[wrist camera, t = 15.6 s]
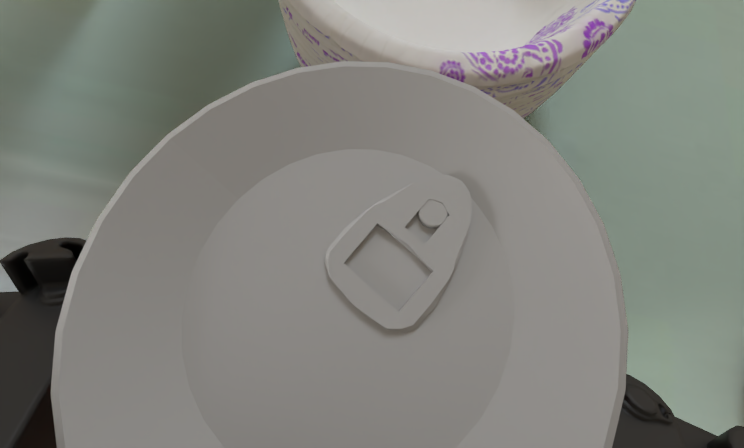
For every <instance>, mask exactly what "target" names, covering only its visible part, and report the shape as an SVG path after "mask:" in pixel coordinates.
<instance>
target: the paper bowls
mask: <svg viewBox="0 0 744 448" xmlns="http://www.w3.org/2000/svg"><path fill="white" fill-rule="evenodd" d="M635 1H636V0H279V5H280V9H281V12H282V15H283V19H284V23H285V26H286V29H287V33H288V36H289V39H290V42H291V45H292V47H293V50H294V53H295V55H296V57H297V60H298V62H299V64H300V66H301V67H306V66H313V65H320V64H327V63H334V62H341V61H357V62H390V63H395V64H400V65H405V66H410V67H416V68H421V69H426V70H431V71H434V72H437V73H440V74H442V75H445V76H447V77H450V78H453V79H455V80H458V81H461V82H463V83H466V84H468V85H471V86H474V87H476V88H477V89H479V90H481V91H482V92H484V93H486V94H487V95H489V96H491V97H492V98H494V99H496V100H497V101H499V102H501V103H502V104H504V105H506V106H507V107H509V108H511V109H512V110H514V111H515V112H516V113H517V114H519V115H520V116H521V117H522V118H523V119H524V118H525V117H527V116H528V115H529V114H531V113H533V112H534V111H535V110H536V109H537V108H538V107H539V106H541V105H542V104H543V103H544V102H545V101H546V100H547V99H548V98H549V97H551V96H552V95H553V94H554V93H555V92H556V91H557V90H558V89H559V88H561V86H562V85H563V84H564V83H565V82H566V81H567V80H568V79H569V78H570V77H571V76H572V75H573V74H574V73H575V72H576V71H577V70H578V69H579V68H580V67H581V66H582V65H583V64H584V63H585V62H586V61H587V60H588V59H589V58H590V57H591V55H592V54H593V53H594V52H595V51H596V50H597V49H598V48H599V47H600V46H601V45H602V44H603V43H605V41H606V40H607V39H608V38H609V37H610V36H611V35H613V33H614V32H615V31H616V30H617V29H618V27H619V26H620V25H621V24H622V22H623V21H624V20H625V19H626V17H627V16H628V15H629V13H630V12H631V10H632V8H633V6H634V3H635Z"/></svg>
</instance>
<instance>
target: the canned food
mask: <svg viewBox="0 0 744 448" xmlns="http://www.w3.org/2000/svg"><path fill="white" fill-rule="evenodd" d="M627 347H628V325H627V318H626V311H625V304H624V296H623V289H622V282H621V275H620V271H619V268H618V265H617V262H616V259H615V256H614V253H613V250H612V247H611V244H610V241H609V238H608V235H607V232H606V229H605V226H604V223H603V221H602V219H601V218H600V216H599V214H598V212H597V210H596V208H595V207H594V205H593V203H592V201H591V199H590V197H589V196H588V194H587V192H586V190H585V188H584V186H583V184H582V183H581V181H580V179H579V178H578V176H577V175H576V174H575V173H574V171H573V170H572V169H571V168H570V166H569V165H568V164H567V163H566V162H565V160H564V159H563V158H562V157H561V155H560V154H559V153H558V152H557V150H556V149H555V148H554V147H553V145H552V144H551V143H550V142H549V141H548V140H547V139H546V138H545V137H544V136H543V135H542V134H540V133H539V132H538V131H537V130H536V129H535V128H534V127H532V126H531V125H530V124H529V123H528V122H527V121H525V120H524V119H523V118H522V117H521V116H520V115H519V114H517V113H516V112H515V111H514V110H512V109H511V108H509V107H507V106H506V105H504V104H502V103H501V102H499V101H497V100H496V99H494V98H492V97H491V96H489V95H487V94H486V93H484V92H482V91H481V90H479V89H477V88H476V87H474V86H471V85H468V84H466V83H463V82H461V81H458V80H455V79H453V78H450V77H447V76H445V75H442V74H440V73H437V72H434V71H431V70H426V69H421V68H416V67H410V66H405V65H400V64H395V63H390V62H357V61H341V62H334V63H327V64H320V65H313V66H306V67H300V68H295V69H292V70H289V71H286V72H283V73H279V74H276V75H273V76H270V77H267V78H264V79H261V80H257V81H254V82H251V83H249V84H247V85H246V86H244V87H242V88H240V89H238V90H236V91H234V92H232V93H230V94H228V95H226V96H224V97H222V98H220V99H218V100H216V101H214V102H212V103H210V104H208V105H207V106H205V107H204V108H203V109H201V110H200V111H199V112H197V113H196V114H194V115H193V116H192V117H190V118H189V119H188V120H186V121H185V122H184V123H182V124H181V125H179V126H178V127H177V128H175V129H174V130H173V131H171V132H170V133H169V134H167V135H166V136H165V137H164V138H163V139H162V140H161V141H160V142H159V143H158V144H157V145H156V146H155V147H154V148H153V149H152V150H151V151H150V152H149V153H148V154H147V155H146V156H145V157H144V158H143V159H142V160H141V161H140V162H139V164H138V165H137V166H136V167H135V168H134V169H133V170H132V171H131V172H130V173H129V174H128V175H127V177H126V178H125V180H124V181H123V182H122V184H121V185H120V187H119V188H118V190H117V191H116V192H115V194H114V195H113V197H112V198H111V199H110V201H109V202H108V204H107V205H106V207H105V208H104V209H103V211H102V212H101V214H100V215H99V217H98V218H97V220H96V222H95V224H94V226H93V228H92V230H91V232H90V234H89V236H88V239H87V241H86V243H85V245H84V247H83V249H82V251H81V253H80V255H79V258H78V260H77V262H76V264H75V266H74V268H73V270H72V272H71V276H70V280H69V283H68V287H67V291H66V294H65V298H64V302H63V305H62V309H61V313H60V316H59V320H58V324H57V327H56V331H55V344H54V356H53V368H52V380H51V393H50V394H51V402H52V411H53V419H54V428H55V436H56V445H57V448H612V446H613V442H614V437H615V433H616V429H617V425H618V420H619V416H620V412H621V408H622V403H623V399H624V395H625V390H626V369H627Z"/></svg>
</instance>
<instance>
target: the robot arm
mask: <svg viewBox="0 0 744 448" xmlns="http://www.w3.org/2000/svg"><path fill="white" fill-rule="evenodd" d="M85 243H86V240H83V239H80V238H58V239H50V240H45V241H41V242H38V243H34V244H30V245H28V246H25V247H23V248H21V249H18V250H16V251H13V252H12V253H10V254H9V255H7V256H6V257H4V258H3V259H1V260H0V263H1V264H2V266H3V268H4V269H5V271H6V272H7V274H8V275H9V277H10V278H11V280H12V282H13V283H14V285H15V286H16V288H17V289H18V291H19V292H0V448H57V445H56V436H55V428H54V419H53V411H52V402H51V394H50V393H51V380H52V368H53V356H54V344H55V331H56V327H57V324H58V320H59V316H60V313H61V309H62V305H63V302H64V298H65V294H66V291H67V287H68V283H69V280H70V276H71V272H72V270H73V268H74V266H75V264H76V262H77V260H78V258H79V255H80V253H81V251H82V249H83V247H84V245H85ZM612 448H744V427H742V426H735V427H733V428H731V429H729V430H728V431H726V432H724V433H723V434H721V435H720V436H716V435H714V434H711V433H709V432H707V431H705V430H703V429H700V428H698V427H696V426H694V425H692V424H690V423H687V422H685V421H683V420H681V419H679V418H676V417H674V415H673V413H672V411H671V409H670V408H669V407H668V406H667V405H666V403H665V402H664V401H663V400H662V399H661V398H660V396H659V395H657V394H656V393H655V392H654V391H653V390H651V389H650V388H649V387H648V386H647V385H645V384H644V383H642V382H640V381H639V380H637V379H635V378H634V377H632V376H630V375H627V374H626V390H625V395H624V399H623V403H622V408H621V412H620V416H619V420H618V425H617V429H616V433H615V437H614V442H613V446H612Z"/></svg>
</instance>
